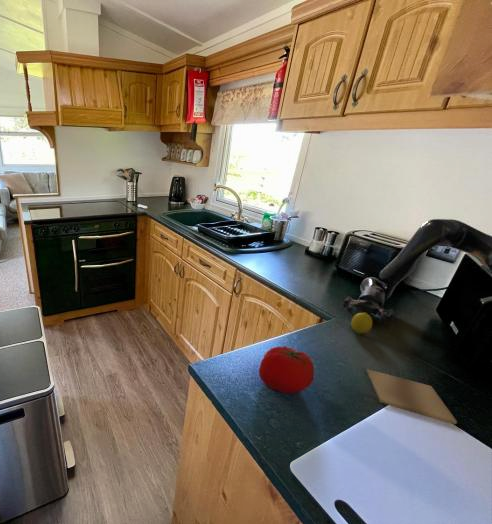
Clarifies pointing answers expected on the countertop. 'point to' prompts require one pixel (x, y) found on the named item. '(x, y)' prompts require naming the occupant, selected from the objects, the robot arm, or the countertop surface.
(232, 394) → the countertop surface
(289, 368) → the tomato
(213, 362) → the countertop surface
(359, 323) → the lemon
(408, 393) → the board
